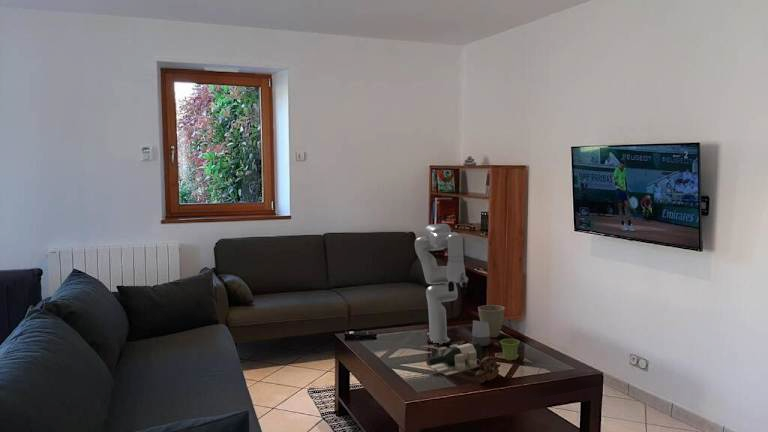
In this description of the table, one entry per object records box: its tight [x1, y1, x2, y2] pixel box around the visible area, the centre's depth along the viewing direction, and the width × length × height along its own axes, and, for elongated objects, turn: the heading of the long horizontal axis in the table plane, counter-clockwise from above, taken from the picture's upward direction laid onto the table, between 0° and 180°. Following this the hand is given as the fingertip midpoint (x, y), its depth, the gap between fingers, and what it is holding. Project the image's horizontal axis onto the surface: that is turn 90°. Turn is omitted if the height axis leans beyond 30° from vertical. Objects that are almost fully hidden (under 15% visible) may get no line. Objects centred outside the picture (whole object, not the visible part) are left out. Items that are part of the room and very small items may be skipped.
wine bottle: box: [426, 341, 484, 366], centre depth 280 cm, size 8×8×30 cm
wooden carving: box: [474, 356, 501, 383], centre depth 260 cm, size 16×5×10 cm, turn 139°
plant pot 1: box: [477, 304, 505, 338], centre depth 328 cm, size 15×15×16 cm
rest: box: [426, 343, 480, 376], centre depth 280 cm, size 16×20×8 cm
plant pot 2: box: [499, 338, 520, 361], centre depth 287 cm, size 9×9×9 cm
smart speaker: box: [471, 320, 491, 348], centre depth 311 cm, size 10×9×14 cm
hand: (457, 292), depth 290 cm, fingers open, 9 cm apart
